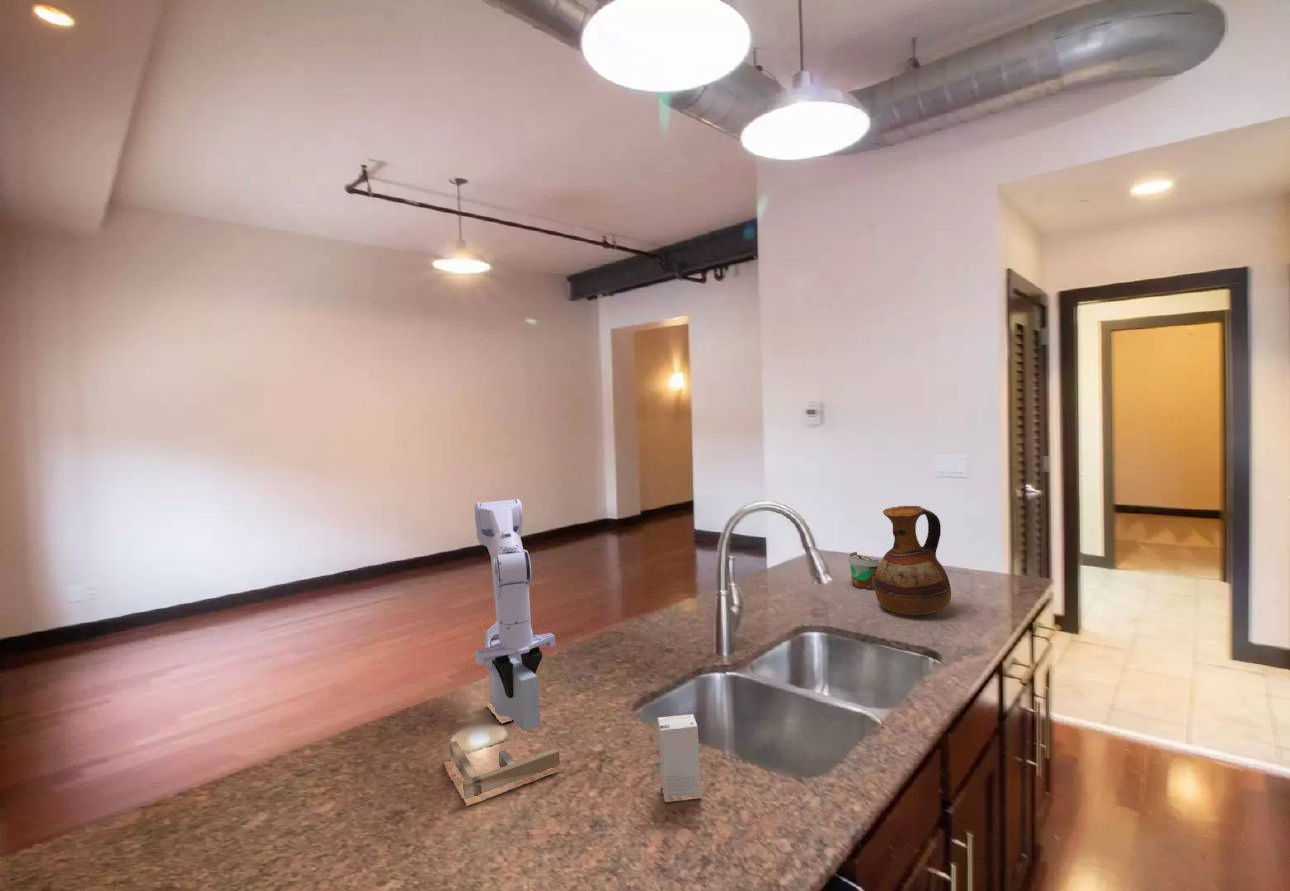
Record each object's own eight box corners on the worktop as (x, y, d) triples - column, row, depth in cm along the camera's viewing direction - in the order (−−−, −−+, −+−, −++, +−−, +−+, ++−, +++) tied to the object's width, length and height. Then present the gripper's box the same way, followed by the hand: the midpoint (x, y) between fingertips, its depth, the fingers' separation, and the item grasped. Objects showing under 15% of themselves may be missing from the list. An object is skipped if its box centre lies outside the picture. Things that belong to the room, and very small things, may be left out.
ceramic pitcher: (860, 603, 185) (859, 503, 183) (916, 595, 191) (915, 498, 189) (907, 625, 167) (906, 514, 165) (967, 615, 173) (967, 507, 171)
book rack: (443, 765, 110) (441, 745, 109) (529, 736, 118) (528, 717, 118) (466, 807, 98) (465, 785, 98) (560, 771, 106) (559, 751, 106)
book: (501, 708, 117) (498, 661, 117) (516, 704, 119) (514, 657, 119) (524, 731, 108) (521, 680, 108) (540, 726, 110) (537, 676, 109)
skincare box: (697, 784, 101) (694, 711, 101) (702, 801, 97) (699, 726, 96) (659, 787, 101) (656, 715, 100) (663, 805, 96) (660, 729, 96)
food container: (840, 583, 207) (839, 553, 206) (856, 580, 208) (855, 551, 208) (863, 593, 195) (863, 562, 194) (880, 591, 197) (880, 559, 196)
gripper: (482, 634, 105) (487, 713, 106) (560, 616, 113) (564, 689, 114) (469, 623, 111) (473, 698, 112) (544, 607, 119) (548, 676, 120)
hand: (518, 693), depth 113 cm, fingers closed on book, 3 cm apart
